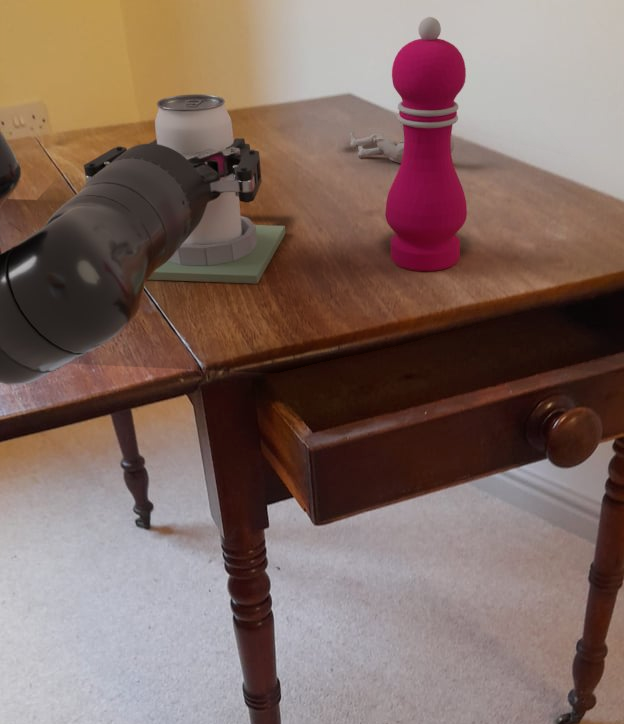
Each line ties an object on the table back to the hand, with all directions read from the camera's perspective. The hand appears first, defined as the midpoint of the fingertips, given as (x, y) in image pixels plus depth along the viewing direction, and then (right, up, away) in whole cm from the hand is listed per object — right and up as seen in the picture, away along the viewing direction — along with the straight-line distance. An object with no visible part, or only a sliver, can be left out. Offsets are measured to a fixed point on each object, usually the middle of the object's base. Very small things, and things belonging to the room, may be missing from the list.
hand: (203, 149), depth 77 cm
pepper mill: (+20, -9, +2) cm, 22 cm away
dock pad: (0, -9, +3) cm, 9 cm away
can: (0, -8, +2) cm, 8 cm away
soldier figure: (+18, +7, +26) cm, 33 cm away
